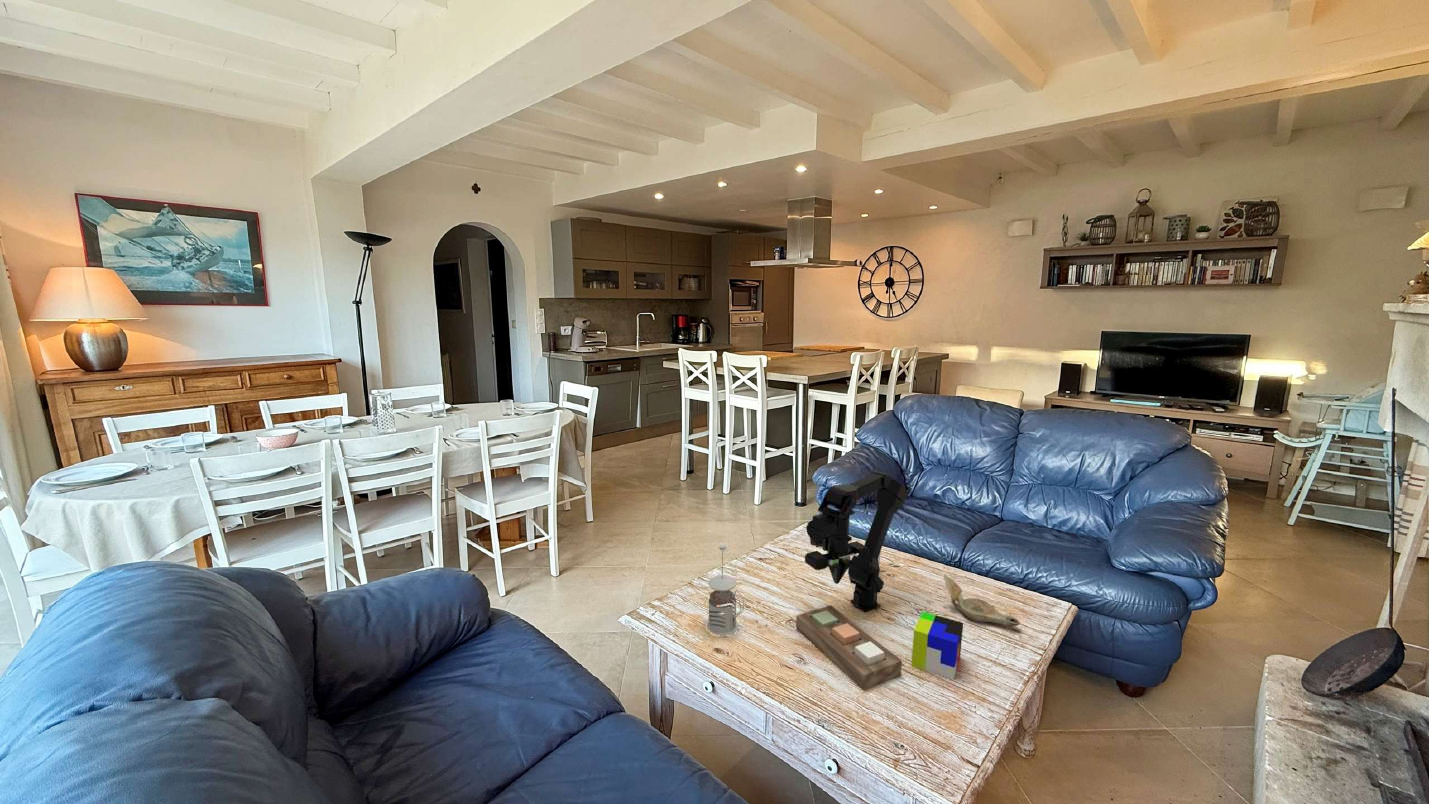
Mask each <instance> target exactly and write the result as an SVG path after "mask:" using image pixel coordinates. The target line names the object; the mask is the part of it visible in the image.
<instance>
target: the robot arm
mask: <svg viewBox="0 0 1429 804" xmlns="http://www.w3.org/2000/svg"><path fill="white" fill-rule="evenodd" d="M874 492H876V493H875V494H876V495H875V499H876V505H877V509H876V511H875V514H874V517H873V520H872V523H871V524H870V528H869V532H868V534H867V537H866V538H865V541H866V542H865V541H864V542H865V544H864V545H863V544H861V543H862V542H859V541H853V537H852V536H850V517H851V516H852V515H854V514H855V510H853V509H855V507H856V506H857V505H858V501H860V499H863V498H865V497H867V496H869V495H870V494H872V493H874ZM908 493H909V492H908V490H907V488H906V486H905V485H903V484H901V483H899V482H898V481H896V480H895V479H893V477H891V476H890V475H889V474H888V473H884V472H881V471H877V470H875V471H873V472H871V474H869V475H867V476H864V477H862V478H860V479H858V480H856V481H854V482H852V483H850V484H836V485H832V486H830V487H829V488H828V489H827V490H826V492H825V494H824V496H823V498H822V501H821V502H820V504H819V507H818V509H817V511H818V512H819V514H815V515H813V516H812V520H811V519H810V521H808V522H807V525H806V527H805V528H806V532H807V533H806V534H807V536H808V537H809V542H810V543H809V544H810V545H811V546H815V548H822V550H823V551H824V552H826V553H821V552H820V551H818V550H815V551H810V552H807V553H805V555H804V563H806V564H807V565H808V566H809V567H811V568H812V569H813V570H815V571H822V570H825V569H827V568H828V569H829V572H830V575H831V577H832V581H833V583H834V584H836V585H838V584H839V583H840V581H842V579H843V577H844V576H845V574H846V572H847V575H848V577H849V582H850V583H851V584H854V590H853V599H851V600H850V603H851V604H853V605H854V606H855V607H856V608H858V609H859V610H860V611H862V612H864V613H865V612H866V613H867V612H869V611H872V610H875V609H878V608H881V604H879V603H878V593H879V594H880V593H881V591H882V590H883V588H884V586H885V585H884V584H885V582H884V580H883V579H882V578H881V577H880V576H879V575H880V571H881V568H880V564H879V562H878V557H879V554H880V551H881V552H882V548H883V545H884V542H885V540H886V537H887V534H888V531H889V528H890V526H891V523H892V520H893V516H894V514H895V513H896V512H898V511H900V510H901V508H903V506H904V505H905V501H906V500H907V498H908V496H909V495H908ZM828 506H829V507H828ZM833 508H835V509H833ZM851 541H853V542H851ZM880 555H881V554H880ZM851 556H852V558H851Z"/></svg>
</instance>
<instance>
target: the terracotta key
mask: <svg viewBox="0 0 1429 804" xmlns="http://www.w3.org/2000/svg"><path fill="white" fill-rule="evenodd" d="M832 636H833V637H834V638H835V639H836V640H838V641H839V642H840V643H841V644H842V645H843V646H845V645H848V644H851V643H854V642H857V641H859V639H860V633H859V632H858V631H857V630H855V629H854V628H853V627H852V626H850V625H849V624H848V623H846V624H843V625H840V626H837V627H834V628H832Z"/></svg>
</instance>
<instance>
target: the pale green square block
mask: <svg viewBox="0 0 1429 804" xmlns="http://www.w3.org/2000/svg"><path fill="white" fill-rule="evenodd" d="M812 619H813V620H814V621H815V622H817V623H818V624H819V625H820V626H821V627H822V628H823V627H826V626H829V625H832V624H836V623H838V619H837V618H835V617H834V616H833V615H832V614H830V613H829V612H828V611H827V610H826V611H823V612H820V613H816V614H813V615H812Z"/></svg>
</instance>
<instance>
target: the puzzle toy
mask: <svg viewBox="0 0 1429 804" xmlns="http://www.w3.org/2000/svg"><path fill="white" fill-rule="evenodd" d="M963 628H964V622H962V621H958V620H954V619H951V618H947V617H943V616H940V615H936V614H933V613H930V612H926V611H922V612H921V613H920V616H919V618H918V620H917V622H916V625H915V627H914V630H913V640H912V652H911V654H912V655H911V666H912V667H914V668H918V669H919V670H924V671H925V672H926V671H927V672H929V673H932V674H936V675H938V676H941V677H945V678H947V679H950V680H952V681H953V680H955V677H956V672H957V670H958V666H959V662H960V660H961V655H962V654H961V652H962V650H961V649H962V643H963V641H962V640H963Z"/></svg>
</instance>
